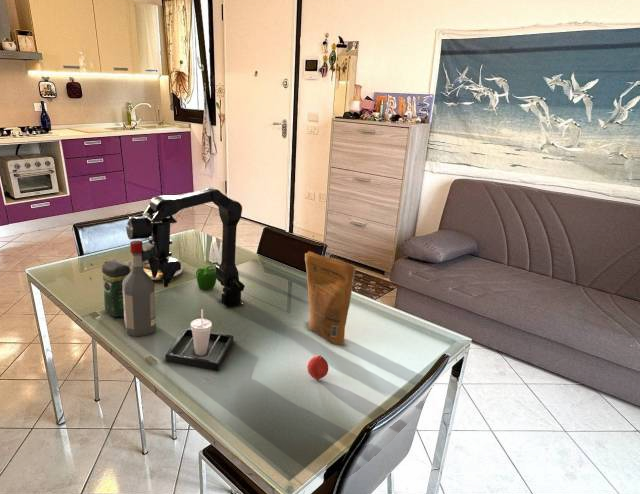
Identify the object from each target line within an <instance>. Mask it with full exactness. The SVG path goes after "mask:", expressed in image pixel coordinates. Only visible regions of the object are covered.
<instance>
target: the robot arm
mask: <svg viewBox="0 0 640 494" xmlns="http://www.w3.org/2000/svg"><path fill="white" fill-rule="evenodd" d="M209 203H213V204H214V205H215V206H216V207H218V215H219V218H220V221H221V223H222V237H221V242H222V262H221V264H220V265H219V264H218V265H216V266H215V270H216V274H215V276H216V277H217V280H216V281H218V282H219V284H220V285H221V286H223V287H222V291H221V294H220V295H221V297H220V300H219V301H220V303H222V304H223V305H224V306H225V307H226V308H228V309H229V308H233V307H237V306H242V305H244V303H243V302H242V292H243V291H244V289H245V287H246V285H245V283H242V281H240V275H239V271H238V270H239V269H238V268H237V265H236V251H237V250H236V246H237V228H238V227H237V226H238V224H239V222H240V221H241V218H242V213H243V205H242V204H241V202H239V201H237V200H234V199H232V198H230V197H228V196H227V195H225V194H224V193H222V192H221V191H220V189H217V188H214V187H208V188H205V189H201V190H197V191H192V192H188V193H184V194H179V195H155V196H153V197H151V200H150V201H149V205H148V207H147V208H146V209H145V211H144V212H143V213H142V216H129V217H128V221H127V223H126V227H125V228H126V229H125V231H126V236H127V238H128V239H129V240H131V241H133V240H143V239H148V243H146V244H143V251H142V260H143V262H145V261H147V260H148V262H149V265H150V269H151V272H152V276H153V277H156V276H157V273H158V270H159V271H161V272H162V278H163V279H162V283H163V284H162V286H163V288H167V287H168V286H169V284H170V283H171V281H172V279H173V278H174V277H175V276H174V274H175V273H176V271H178V270H180V269H181V265H182V263H181V262H180V260H178V259H177V258H175V257H172V256H173V253H172V252H171V251H170V248H171V245H173V240H172V239H171V224H177V223H178V220H177V219H175V217H174V216H175V215H176V214H177V213H179V212H180V211H182V210H184V209H189V208H193V207H196V206H200V205H205V204H209ZM173 276H174V277H173Z"/></svg>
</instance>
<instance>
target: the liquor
mask: <svg viewBox="0 0 640 494" xmlns="http://www.w3.org/2000/svg"><path fill="white" fill-rule="evenodd" d="M129 242H130V243H129V247H130V249H129V250H130V253H131V261H132V269H131V270H132V271H131V272H130V273H129V274H128V275H127V276H126V278H125V279H124V280H123V282H122V288H123V305H124V316H123V318H124V319H123V320H124V327H125V331H126V334H127V335H128V336H131V337H134V338H135V337H141V336H149V335H151V334H153V333H155V331H156V329H157V319H156V318H157V317H156V316H157V315H156V292H155V291H156V288H155V284H154V282H153V281H154V280H152V279H151V277H150V276H149V275H148V274H147V273H146V272H145V271H144V269H143V260H142V251H143V245H144V244H143V241H141V240H131V241H129Z"/></svg>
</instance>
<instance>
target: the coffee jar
mask: <svg viewBox="0 0 640 494" xmlns="http://www.w3.org/2000/svg"><path fill="white" fill-rule="evenodd" d="M129 273H130V268H129V266H128V265H127V263H125V262H123V261H121V260H117V259H110V260H106V261H104V262H103V263H102V265H101V275H102V279H103V281H102V282H103V295H104V299H103V301H104V311H105V312H106V313H107V314H108V315H110V316H111V317H113V318H120V317H123V318H124V305H123V288H122V282H123V280H124V279H125V278H126V276H127V275H128V274H129Z"/></svg>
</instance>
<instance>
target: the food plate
mask: <svg viewBox="0 0 640 494" xmlns="http://www.w3.org/2000/svg"><path fill="white" fill-rule="evenodd" d="M126 264H127V265H128V266H129V268H130V272H131V271H132V270H131V269H132V260H131V261H129V262H127V263H126ZM143 269H144V271H145V272H146V273H147V274H148V275H149V276H150V277H151V279H152V281H161V280H162V281H163V278H162V272H161V271H159V270H158V273H157V276H156V277H153V276H152V272H151V269H150V265H149V262H148V260H147V261H145V262H143ZM184 270H185V267H184V265H183V264H181V269H180V270H178V271H176V273H175V274H174V276H173V278H174V277H176V276H180V275H181V274H182V273H183V272H184Z"/></svg>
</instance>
